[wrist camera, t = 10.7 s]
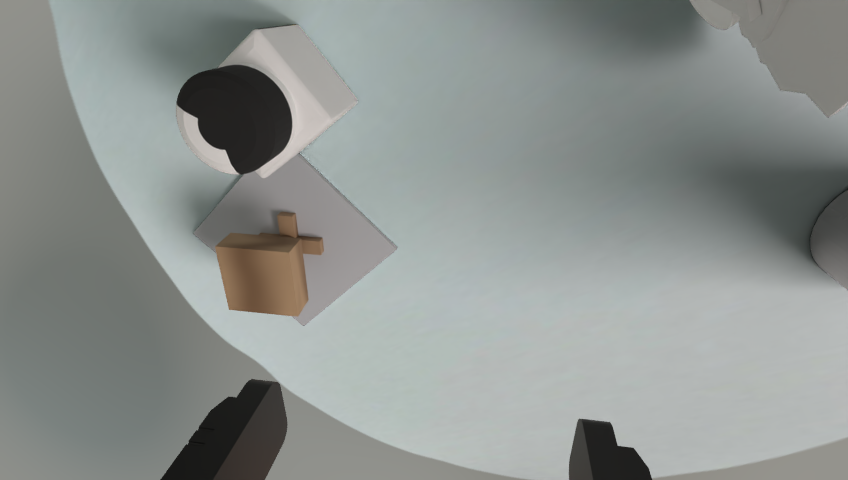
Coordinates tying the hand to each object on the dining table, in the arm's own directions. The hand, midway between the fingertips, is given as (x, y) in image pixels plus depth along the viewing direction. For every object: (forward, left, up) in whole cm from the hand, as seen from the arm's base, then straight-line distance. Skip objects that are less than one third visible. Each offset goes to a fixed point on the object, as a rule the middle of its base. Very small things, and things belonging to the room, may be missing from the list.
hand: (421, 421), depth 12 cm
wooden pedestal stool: (+4, +18, -27) cm, 33 cm away
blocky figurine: (+12, +7, -28) cm, 31 cm away
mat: (+4, +18, -28) cm, 33 cm away
